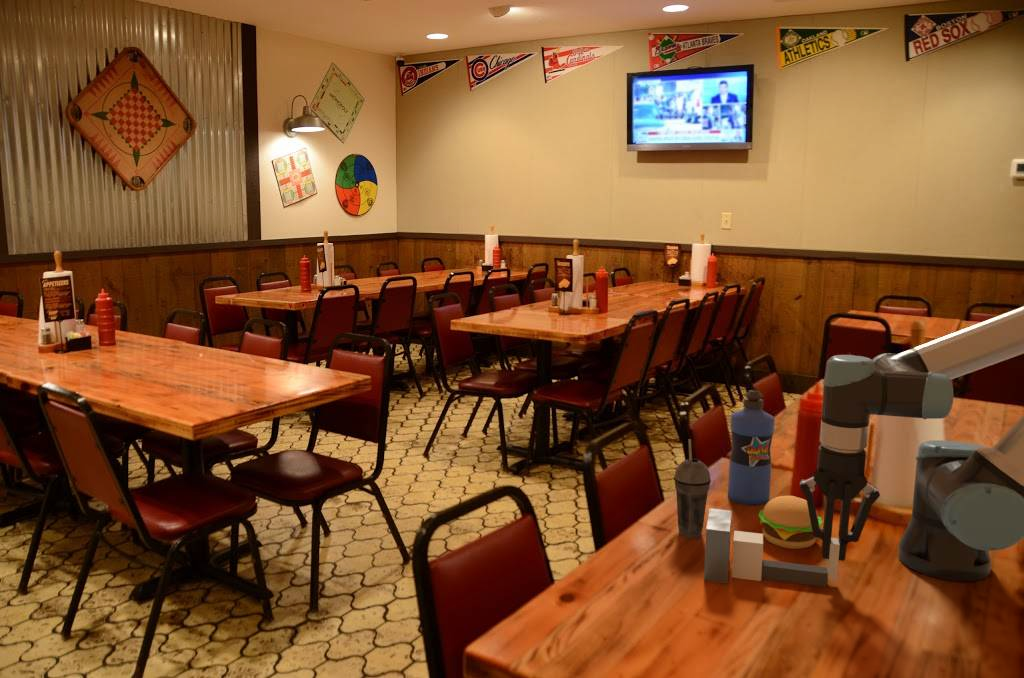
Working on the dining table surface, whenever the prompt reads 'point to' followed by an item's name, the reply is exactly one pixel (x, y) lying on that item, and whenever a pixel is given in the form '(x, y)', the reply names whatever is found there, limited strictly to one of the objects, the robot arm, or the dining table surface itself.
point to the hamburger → (788, 522)
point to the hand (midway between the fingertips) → (831, 575)
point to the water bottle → (750, 452)
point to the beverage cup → (691, 495)
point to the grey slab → (717, 545)
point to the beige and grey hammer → (770, 564)
